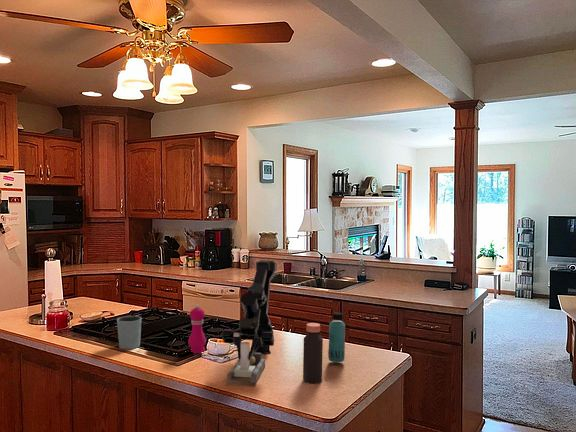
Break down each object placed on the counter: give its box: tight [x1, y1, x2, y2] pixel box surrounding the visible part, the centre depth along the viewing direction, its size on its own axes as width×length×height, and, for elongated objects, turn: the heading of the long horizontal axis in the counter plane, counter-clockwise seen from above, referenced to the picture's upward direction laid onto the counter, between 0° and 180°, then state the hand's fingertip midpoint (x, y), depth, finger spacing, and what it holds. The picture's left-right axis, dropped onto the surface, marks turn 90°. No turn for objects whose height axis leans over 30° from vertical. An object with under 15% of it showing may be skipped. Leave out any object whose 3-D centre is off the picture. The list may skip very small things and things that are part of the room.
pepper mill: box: [187, 303, 207, 353], centre depth 200 cm, size 7×7×20 cm
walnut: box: [249, 356, 255, 366], centre depth 181 cm, size 4×4×4 cm
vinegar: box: [302, 322, 324, 385], centre depth 171 cm, size 7×7×20 cm
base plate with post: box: [226, 353, 266, 387], centre depth 175 cm, size 18×10×6 cm, turn 172°
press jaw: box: [234, 341, 255, 378], centre depth 171 cm, size 6×6×11 cm
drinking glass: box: [116, 315, 143, 350], centre depth 206 cm, size 10×10×12 cm
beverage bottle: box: [327, 311, 346, 363], centre depth 189 cm, size 6×7×20 cm
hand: (244, 359), depth 170 cm, fingers closed on press jaw, 3 cm apart
